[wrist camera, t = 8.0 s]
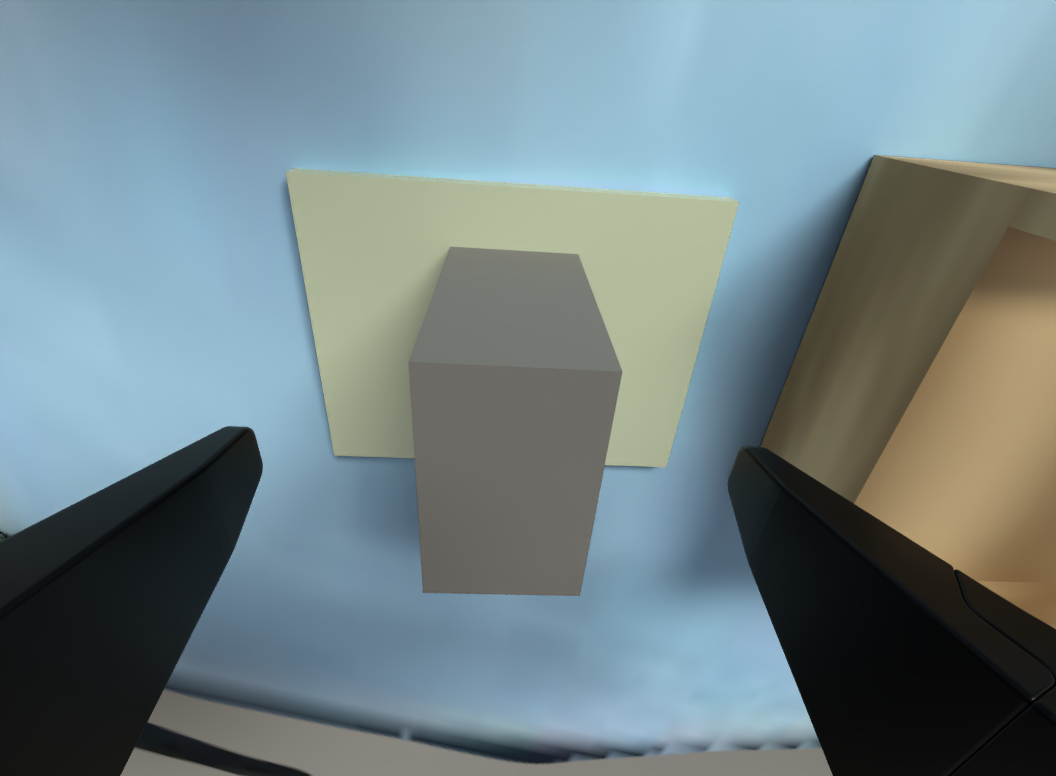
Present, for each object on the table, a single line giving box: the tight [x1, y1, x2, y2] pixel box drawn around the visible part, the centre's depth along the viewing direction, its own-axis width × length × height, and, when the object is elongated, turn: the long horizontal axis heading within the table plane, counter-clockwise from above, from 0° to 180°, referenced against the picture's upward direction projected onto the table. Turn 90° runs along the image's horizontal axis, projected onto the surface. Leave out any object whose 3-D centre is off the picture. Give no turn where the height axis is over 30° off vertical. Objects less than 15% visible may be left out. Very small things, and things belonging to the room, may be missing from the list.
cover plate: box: [286, 168, 739, 596], centre depth 11 cm, size 10×8×6 cm
